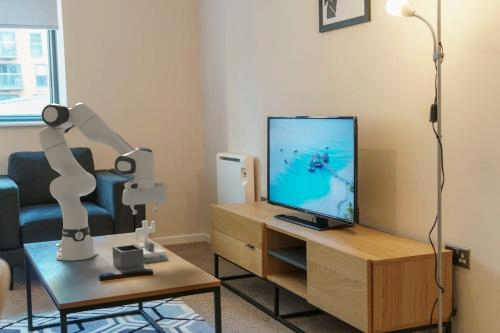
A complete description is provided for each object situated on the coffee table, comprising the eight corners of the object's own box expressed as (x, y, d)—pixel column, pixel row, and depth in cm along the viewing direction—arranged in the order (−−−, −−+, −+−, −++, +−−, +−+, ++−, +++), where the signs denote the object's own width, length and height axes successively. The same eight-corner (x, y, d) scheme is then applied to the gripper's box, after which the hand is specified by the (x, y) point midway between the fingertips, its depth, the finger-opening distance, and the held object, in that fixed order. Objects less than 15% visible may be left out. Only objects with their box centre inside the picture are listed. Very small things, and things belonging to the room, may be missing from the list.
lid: (134, 255, 307) (133, 241, 306) (156, 252, 312) (155, 238, 311) (143, 260, 296) (142, 246, 295) (165, 257, 301) (165, 243, 300)
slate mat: (132, 256, 307) (132, 254, 307) (157, 253, 313) (157, 251, 313) (142, 263, 295) (142, 260, 295) (167, 259, 300) (167, 257, 300)
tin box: (113, 265, 293) (112, 247, 292) (135, 261, 298) (134, 244, 297) (121, 270, 282) (120, 252, 282) (144, 267, 287) (143, 249, 286)
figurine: (134, 251, 319) (133, 220, 318) (153, 249, 323) (152, 218, 321) (138, 254, 312) (137, 222, 311) (157, 251, 316) (156, 220, 315)
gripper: (164, 181, 309) (164, 210, 310) (120, 183, 299) (121, 214, 301) (168, 183, 303) (168, 213, 305) (125, 185, 294) (125, 216, 295)
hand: (144, 213), depth 303 cm, fingers open, 8 cm apart
